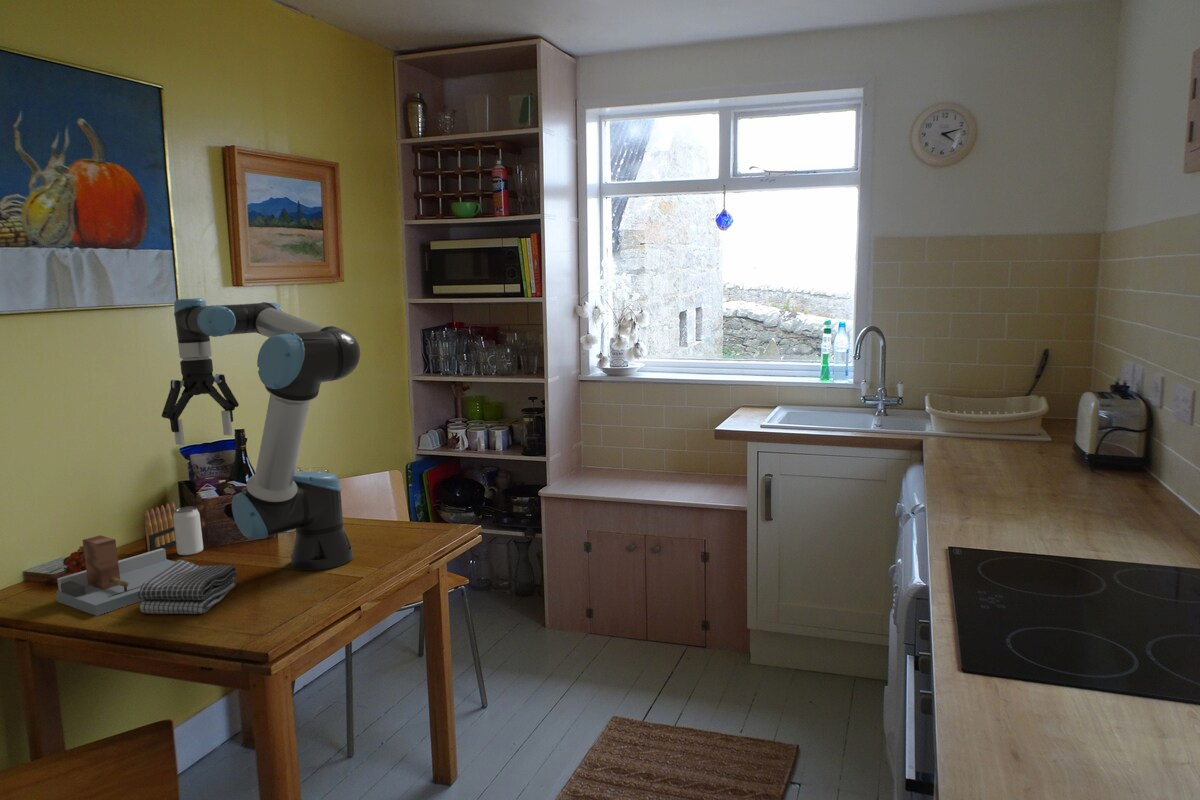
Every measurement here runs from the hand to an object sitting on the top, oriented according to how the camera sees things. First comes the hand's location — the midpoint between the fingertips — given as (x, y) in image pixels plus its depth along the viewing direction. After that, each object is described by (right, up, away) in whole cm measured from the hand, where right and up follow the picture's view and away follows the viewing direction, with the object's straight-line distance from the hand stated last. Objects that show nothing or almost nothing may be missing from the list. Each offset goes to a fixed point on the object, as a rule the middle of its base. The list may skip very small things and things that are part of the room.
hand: (204, 439), depth 227 cm
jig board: (-8, -35, -20) cm, 41 cm away
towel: (+10, -36, -28) cm, 47 cm away
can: (-8, -31, +9) cm, 33 cm away
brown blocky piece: (-11, -33, -24) cm, 42 cm away
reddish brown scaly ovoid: (-26, -34, -7) cm, 44 cm away
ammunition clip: (-18, -31, +14) cm, 38 cm away
